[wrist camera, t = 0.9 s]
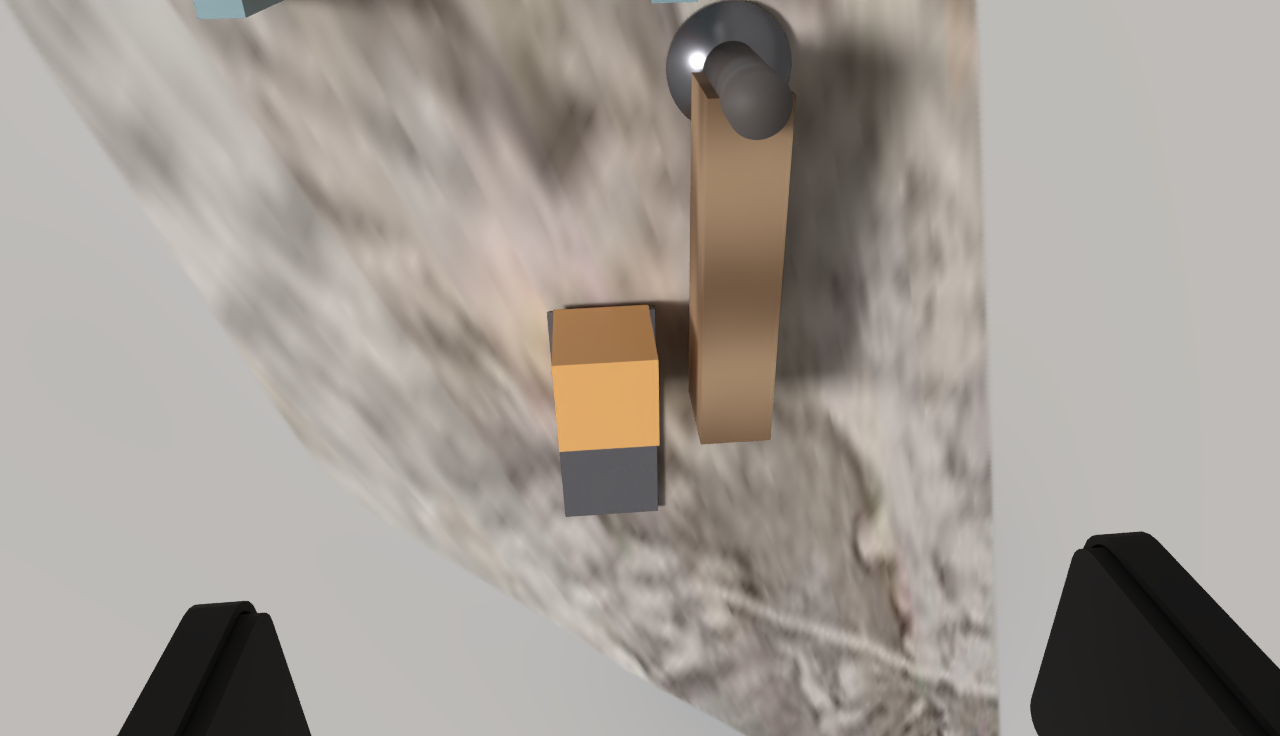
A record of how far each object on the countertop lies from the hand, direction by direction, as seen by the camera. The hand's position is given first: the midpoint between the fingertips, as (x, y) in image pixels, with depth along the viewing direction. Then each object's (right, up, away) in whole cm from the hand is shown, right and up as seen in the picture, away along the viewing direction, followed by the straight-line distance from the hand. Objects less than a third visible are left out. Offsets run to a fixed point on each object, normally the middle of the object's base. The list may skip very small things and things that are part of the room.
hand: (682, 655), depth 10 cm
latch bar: (+3, +8, +19) cm, 21 cm away
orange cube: (-2, +4, +22) cm, 22 cm away
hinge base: (+2, +13, +17) cm, 21 cm away
